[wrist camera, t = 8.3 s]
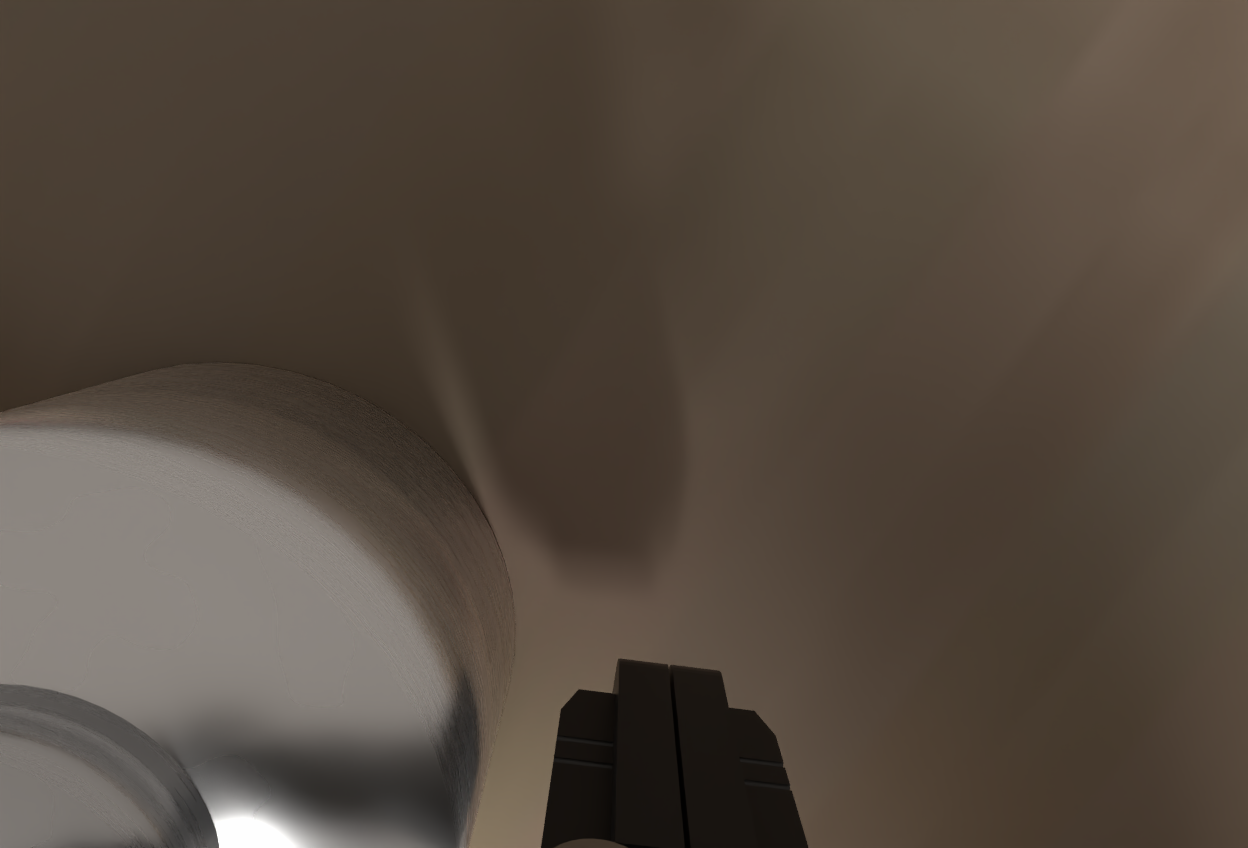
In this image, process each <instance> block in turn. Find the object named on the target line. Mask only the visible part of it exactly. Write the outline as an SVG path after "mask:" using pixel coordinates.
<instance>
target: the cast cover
mask: <svg viewBox="0 0 1248 848" xmlns="http://www.w3.org/2000/svg"><path fill="white" fill-rule="evenodd" d="M515 631H516V623H515V613H514V604H513V594H512V589H511V585H510V581H509V577H508V573H507V569H506V565H505V561H504V559H503V556H502V554H501V551H500V549H499V546H498V544H497V541H496V539H495V536H494V534H493V531H492V529H491V527H490V525H489V524H488V522H487V520H486V518H485V517H484V515H483V513H482V511H481V510H480V508H479V506H478V504H477V502H476V501H475V499H474V498H473V496H472V495H471V494H470V492H469V491H468V490H467V488H466V487H465V486H464V484H463V483H462V482H461V480H460V479H459V478H458V476H457V475H456V474H455V472H454V471H453V470H452V469H451V468H450V467H449V466H448V465H447V463H446V462H445V461H444V460H443V459H442V458H441V457H440V456H439V455H438V454H437V453H436V452H435V451H434V450H433V449H432V448H431V447H430V446H429V445H428V444H427V443H426V442H425V441H423V440H422V439H421V438H420V437H418V436H417V435H416V434H415V433H413V432H412V431H411V430H410V429H409V428H407V427H406V426H405V425H404V424H402V423H401V422H400V421H399V420H397V419H395V418H394V417H392V416H391V415H389V414H387V413H386V412H384V411H383V410H381V409H379V408H378V407H376V406H375V405H373V404H371V403H370V402H368V401H367V400H365V399H363V398H360V397H358V396H356V395H354V394H352V393H350V392H348V391H345V390H343V389H341V388H339V387H337V386H335V385H332V384H330V383H327V382H324V381H321V380H318V379H315V378H312V377H308V376H305V375H302V374H299V373H296V372H292V371H287V370H282V369H277V368H272V367H266V366H261V365H255V364H239V363H224V362H213V363H198V364H182V365H177V366H172V367H167V368H162V369H157V370H152V371H147V372H143V373H139V374H136V375H132V376H128V377H125V378H121V379H118V380H114V381H110V382H107V383H103V384H100V385H96V386H93V387H89V388H85V389H82V390H78V391H75V392H71V393H67V394H64V395H60V396H57V397H53V398H49V399H46V400H42V401H39V402H35V403H32V404H28V405H24V406H21V407H17V408H14V409H10V410H6V411H3V412H0V848H469V845H470V841H471V837H472V833H473V829H474V825H475V821H476V817H477V813H478V808H479V804H480V800H481V796H482V792H483V788H484V784H485V780H486V776H487V772H488V768H489V764H490V760H491V756H492V752H493V748H494V744H495V740H496V736H497V732H498V728H499V724H500V720H501V716H502V712H503V708H504V704H505V700H506V696H507V692H508V688H509V683H510V678H511V672H512V667H513V662H514V656H515Z"/></svg>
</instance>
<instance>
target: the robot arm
mask: <svg viewBox="0 0 1248 848" xmlns="http://www.w3.org/2000/svg"><path fill="white" fill-rule="evenodd" d="M541 848H808V845H807V841H806V838H805V834H804V831H803V828H802V824H801V821H800V817H799V814H798V811H797V807H796V804H795V800H794V797H793V794H792V791H790V783H789V780H788V777H787V773H786V770H785V768H783V760H782V756H781V753H780V749H779V746H778V743H777V739H776V736H775V734H774V733H773V732H772V731H771V730H770V729H769V727H768V726H767V725H766V724H765V723H764V722H763V720H762V719H761V718H760V717H759V716H758V715H757V713H756V712H755V711H751V710H743V709H735V708H729V707H728V702H727V697H726V693H725V688H724V683H723V678H722V674H721V672H720V671H717V670H709V669H701V668H693V667H685V666H677V665H670V667H669V669H668V665H667V664H659V663H651V662H643V661H635V660H627V659H618V662H617V667H616V673H615V680H614V687H613V693H604V692H596V691H588V690H580V689H579V690H578V691H577V692H576V693H575V694H574V695H573V696H572V698H571V699H570V700H569V701H568V702H567V703H566V704H565V705H564V707H563V708H562V709H561V713H560V720H559V727H558V734H557V741H556V748H555V754H554V762H553V768H552V775H551V782H550V789H549V796H548V803H547V810H546V817H545V824H544V831H543V838H542V845H541Z"/></svg>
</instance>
